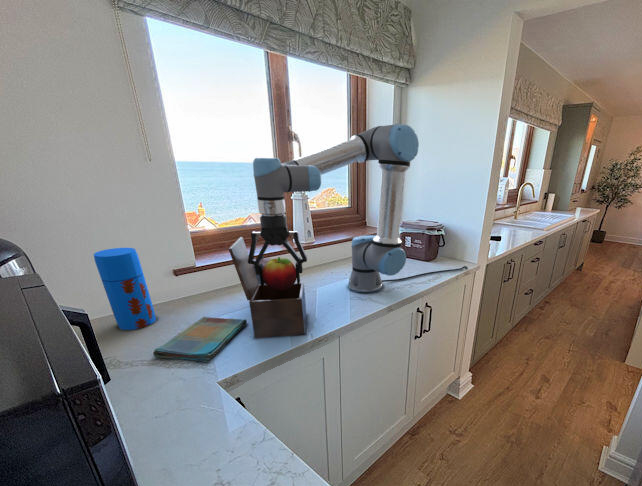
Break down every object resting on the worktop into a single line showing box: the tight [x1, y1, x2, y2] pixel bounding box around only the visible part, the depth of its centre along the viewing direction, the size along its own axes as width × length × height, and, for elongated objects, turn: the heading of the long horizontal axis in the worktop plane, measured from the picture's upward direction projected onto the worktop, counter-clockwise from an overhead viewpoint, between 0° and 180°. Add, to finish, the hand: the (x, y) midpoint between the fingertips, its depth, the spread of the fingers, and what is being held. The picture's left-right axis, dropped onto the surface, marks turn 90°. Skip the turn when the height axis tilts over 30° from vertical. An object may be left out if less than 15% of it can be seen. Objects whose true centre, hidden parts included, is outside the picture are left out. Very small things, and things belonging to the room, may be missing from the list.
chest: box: [248, 282, 307, 339], centre depth 109 cm, size 16×15×13 cm
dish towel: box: [152, 316, 248, 363], centre depth 102 cm, size 17×23×2 cm
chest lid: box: [228, 236, 258, 301], centre depth 101 cm, size 16×15×1 cm
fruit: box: [262, 256, 297, 290], centre depth 104 cm, size 11×11×10 cm
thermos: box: [93, 247, 157, 331], centre depth 106 cm, size 11×11×25 cm
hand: (280, 283), depth 105 cm, fingers closed on fruit, 10 cm apart
